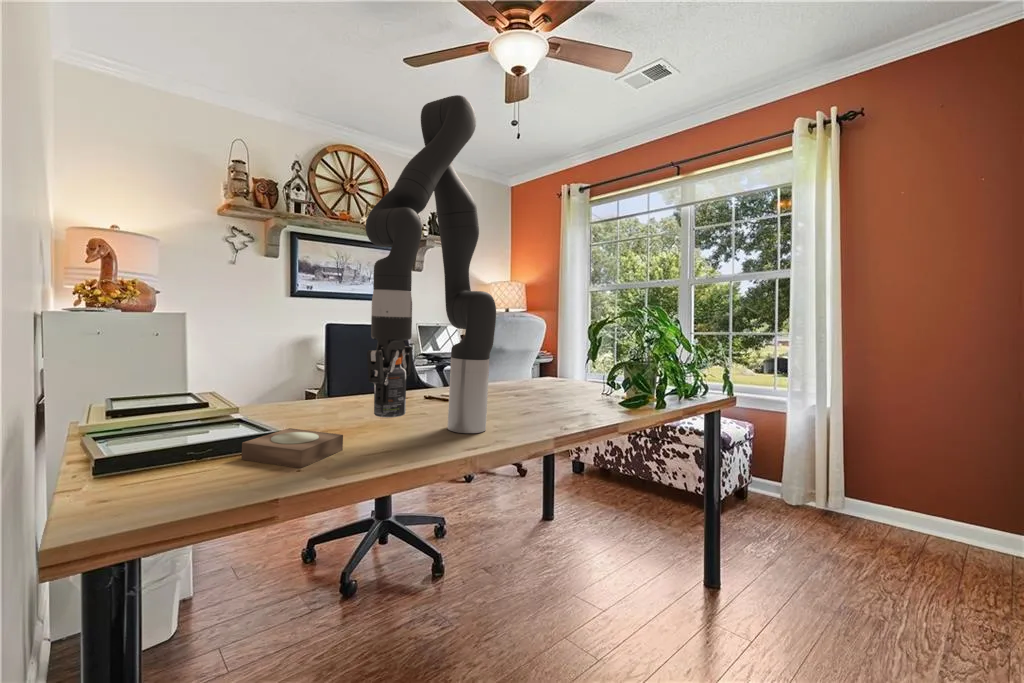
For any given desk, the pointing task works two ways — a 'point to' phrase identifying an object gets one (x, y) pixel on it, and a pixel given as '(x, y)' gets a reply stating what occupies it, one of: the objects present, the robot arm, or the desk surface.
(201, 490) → the desk surface
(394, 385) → the pill bottle
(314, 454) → the walnut base
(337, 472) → the desk surface
